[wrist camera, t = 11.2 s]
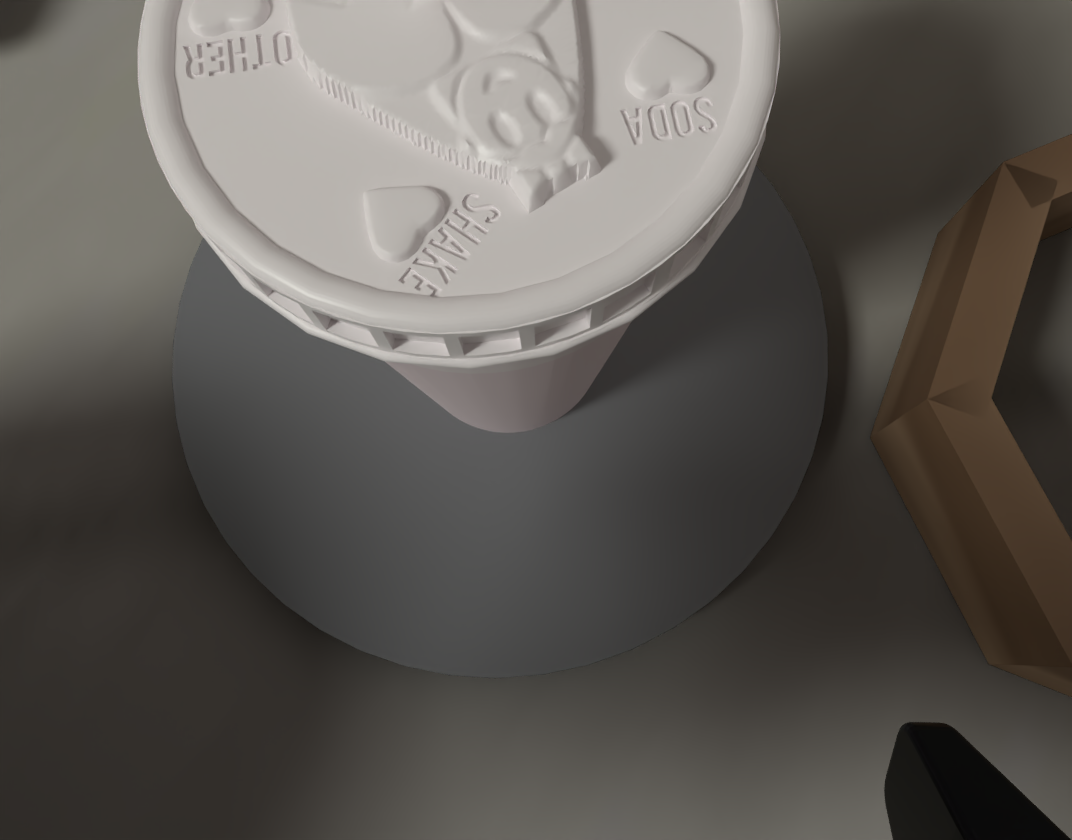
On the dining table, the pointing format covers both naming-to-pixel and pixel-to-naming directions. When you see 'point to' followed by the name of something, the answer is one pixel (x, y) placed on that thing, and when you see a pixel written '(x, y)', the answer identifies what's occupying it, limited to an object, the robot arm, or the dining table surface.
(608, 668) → the dining table surface
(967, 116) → the dining table surface
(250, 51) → the smoothie
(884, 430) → the brown octagonal holder
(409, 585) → the rubber mat
